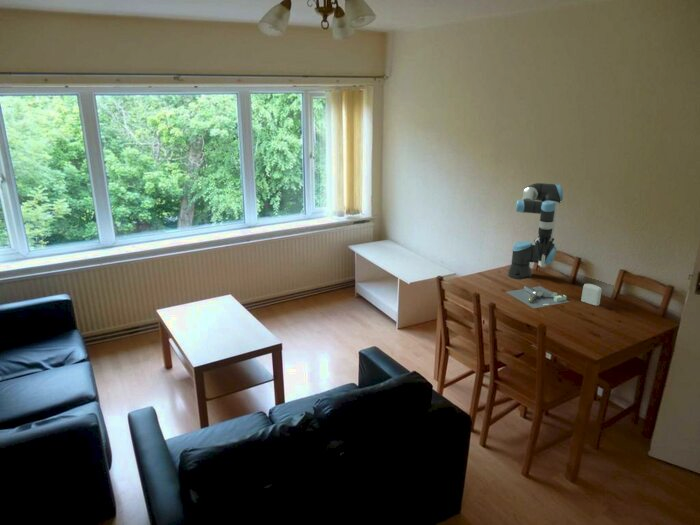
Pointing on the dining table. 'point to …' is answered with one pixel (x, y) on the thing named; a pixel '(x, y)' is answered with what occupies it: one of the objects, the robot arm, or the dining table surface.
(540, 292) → the grey metal branched piece
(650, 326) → the dining table surface
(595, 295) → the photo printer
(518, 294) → the level board
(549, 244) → the robot arm
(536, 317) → the dining table surface
